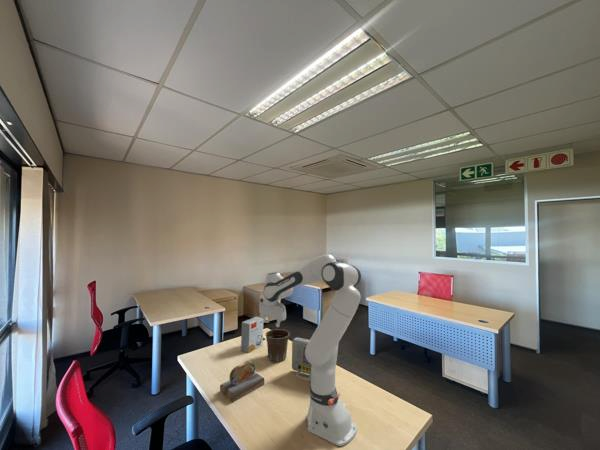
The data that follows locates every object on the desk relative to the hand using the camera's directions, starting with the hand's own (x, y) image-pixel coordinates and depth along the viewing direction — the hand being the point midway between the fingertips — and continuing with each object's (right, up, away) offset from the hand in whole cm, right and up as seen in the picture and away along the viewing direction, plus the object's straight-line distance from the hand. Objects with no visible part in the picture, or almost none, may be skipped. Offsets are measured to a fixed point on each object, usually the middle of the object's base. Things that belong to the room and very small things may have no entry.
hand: (272, 324), depth 143 cm
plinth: (-15, -31, -9) cm, 35 cm away
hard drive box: (-19, -32, +38) cm, 53 cm away
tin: (-15, -27, -9) cm, 32 cm away
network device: (+24, -32, +2) cm, 40 cm away
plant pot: (+1, -32, +24) cm, 40 cm away
